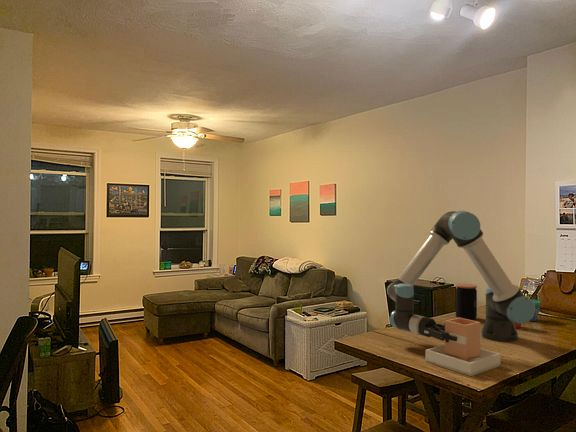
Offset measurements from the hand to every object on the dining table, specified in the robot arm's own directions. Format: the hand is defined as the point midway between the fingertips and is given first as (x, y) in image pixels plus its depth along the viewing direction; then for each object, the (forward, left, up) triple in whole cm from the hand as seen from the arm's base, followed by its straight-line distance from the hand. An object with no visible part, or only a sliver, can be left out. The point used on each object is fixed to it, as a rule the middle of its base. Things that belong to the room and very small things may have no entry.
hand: (473, 338), depth 164 cm
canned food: (-28, -68, -11) cm, 74 cm away
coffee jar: (-8, -81, -11) cm, 82 cm away
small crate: (+3, -3, -7) cm, 9 cm away
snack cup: (-40, -86, -11) cm, 96 cm away
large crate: (+3, -3, -10) cm, 11 cm away
